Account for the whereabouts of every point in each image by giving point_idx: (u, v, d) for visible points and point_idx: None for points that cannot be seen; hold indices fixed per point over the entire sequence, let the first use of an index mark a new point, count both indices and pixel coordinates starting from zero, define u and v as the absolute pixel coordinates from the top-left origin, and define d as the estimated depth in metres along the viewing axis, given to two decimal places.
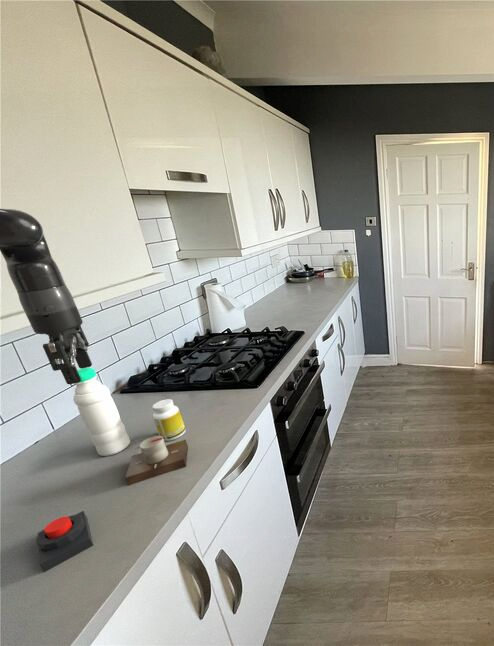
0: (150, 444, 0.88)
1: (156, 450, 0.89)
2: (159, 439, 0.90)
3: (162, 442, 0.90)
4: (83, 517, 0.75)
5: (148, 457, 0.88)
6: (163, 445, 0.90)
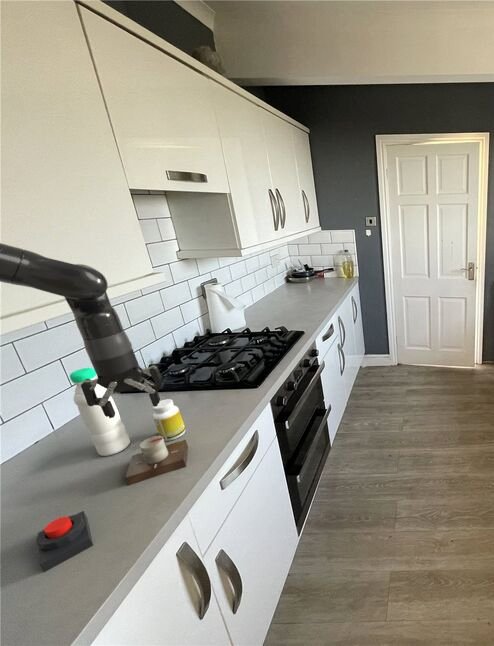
0: (150, 444, 0.88)
1: (156, 450, 0.89)
2: (159, 439, 0.90)
3: (162, 442, 0.90)
4: (83, 517, 0.75)
5: (148, 457, 0.88)
6: (163, 445, 0.90)
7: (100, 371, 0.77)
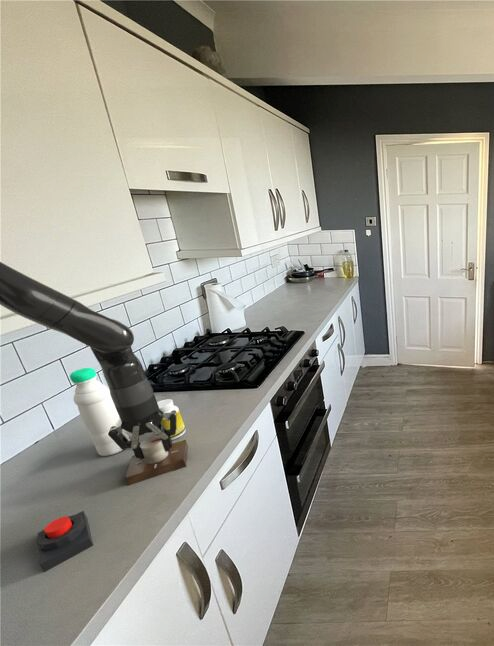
0: (150, 444, 0.88)
1: (156, 450, 0.89)
2: (159, 439, 0.90)
3: (162, 442, 0.90)
4: (83, 517, 0.75)
5: (148, 457, 0.88)
6: (163, 445, 0.90)
7: (124, 417, 0.82)
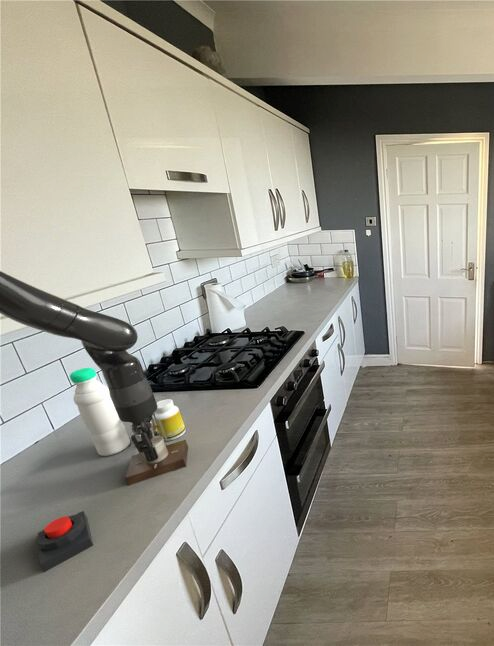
0: (157, 440, 0.90)
1: None
2: (153, 437, 0.91)
3: None
4: (83, 517, 0.75)
5: (164, 449, 0.91)
6: None
7: (151, 408, 0.85)
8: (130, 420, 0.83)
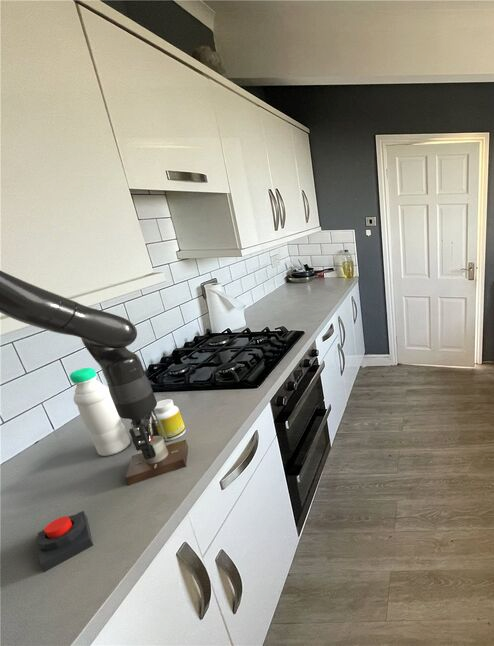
0: (157, 440, 0.90)
1: None
2: (153, 437, 0.91)
3: None
4: (83, 517, 0.75)
5: (164, 449, 0.91)
6: None
7: (150, 405, 0.85)
8: (130, 417, 0.82)
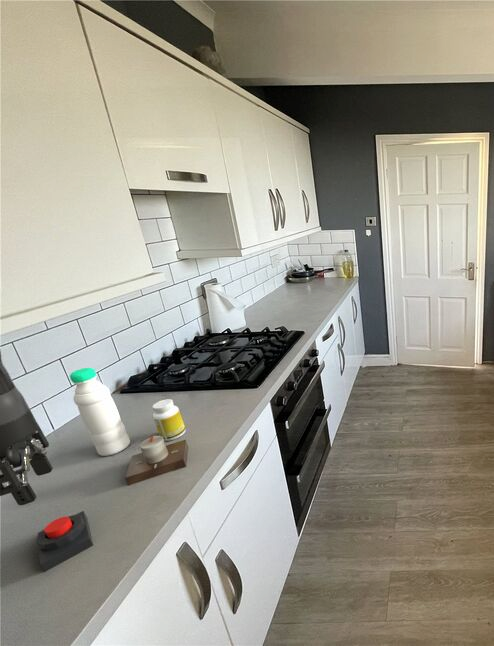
0: (157, 440, 0.90)
1: None
2: (153, 437, 0.91)
3: None
4: (83, 517, 0.75)
5: (164, 449, 0.91)
6: None
7: (24, 431, 0.62)
8: None
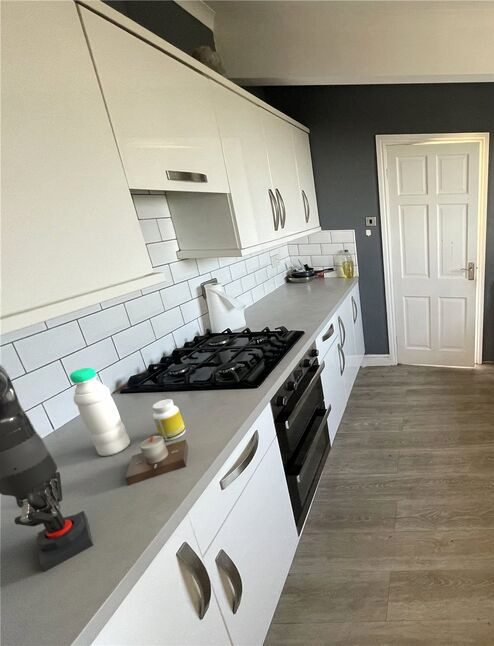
0: (157, 440, 0.90)
1: None
2: (153, 437, 0.91)
3: None
4: (83, 517, 0.75)
5: (164, 449, 0.91)
6: None
7: (44, 475, 0.64)
8: (11, 493, 0.62)
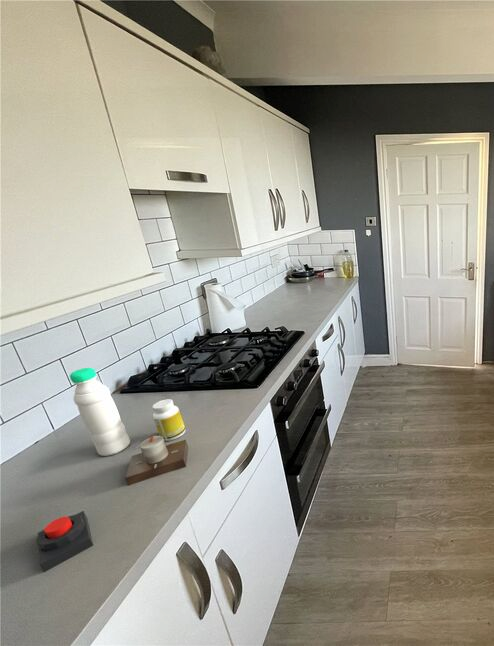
0: (157, 440, 0.90)
1: None
2: (153, 437, 0.91)
3: None
4: (83, 517, 0.75)
5: (164, 449, 0.91)
6: None
7: None
8: None
